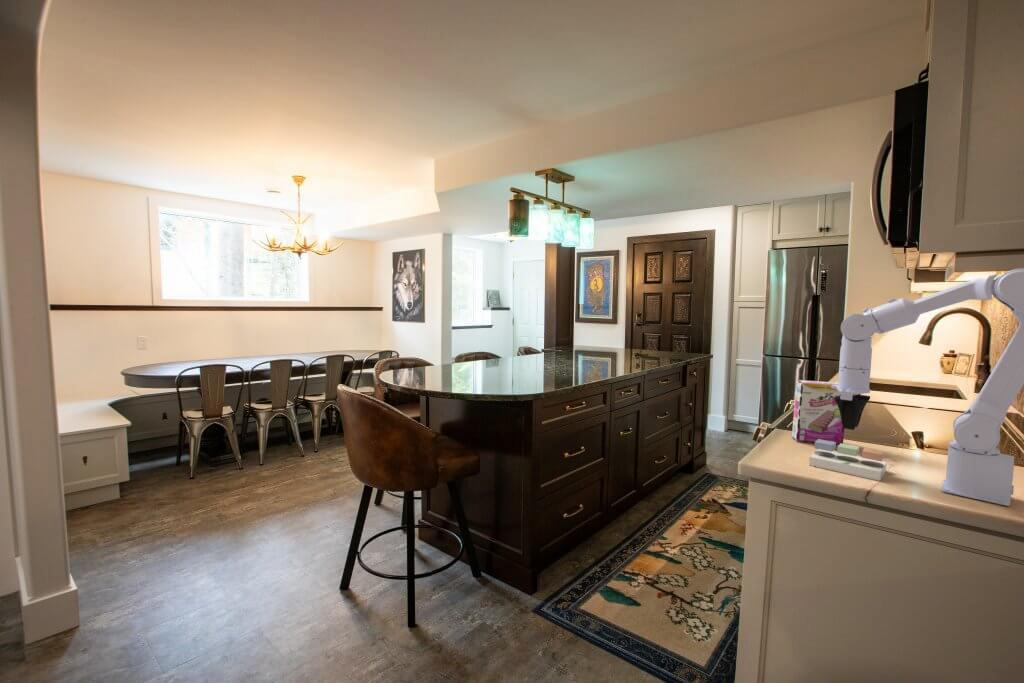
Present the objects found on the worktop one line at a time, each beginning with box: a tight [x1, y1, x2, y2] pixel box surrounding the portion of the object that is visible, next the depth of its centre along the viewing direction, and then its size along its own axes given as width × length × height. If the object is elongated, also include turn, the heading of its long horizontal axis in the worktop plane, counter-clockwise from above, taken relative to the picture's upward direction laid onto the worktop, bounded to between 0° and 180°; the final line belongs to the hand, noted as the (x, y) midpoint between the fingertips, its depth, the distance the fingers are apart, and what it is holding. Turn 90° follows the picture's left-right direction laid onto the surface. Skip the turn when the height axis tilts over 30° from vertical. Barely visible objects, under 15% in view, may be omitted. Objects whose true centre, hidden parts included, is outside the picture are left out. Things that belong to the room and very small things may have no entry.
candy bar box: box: [791, 379, 845, 446], centre depth 127 cm, size 11×5×16 cm, turn 74°
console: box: [808, 449, 888, 482], centre depth 107 cm, size 13×9×2 cm
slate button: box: [814, 439, 837, 452], centre depth 110 cm, size 4×4×2 cm
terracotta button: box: [861, 447, 886, 462], centre depth 103 cm, size 4×4×2 cm
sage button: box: [836, 443, 861, 456], centre depth 107 cm, size 4×4×2 cm
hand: (850, 427), depth 106 cm, fingers open, 3 cm apart
